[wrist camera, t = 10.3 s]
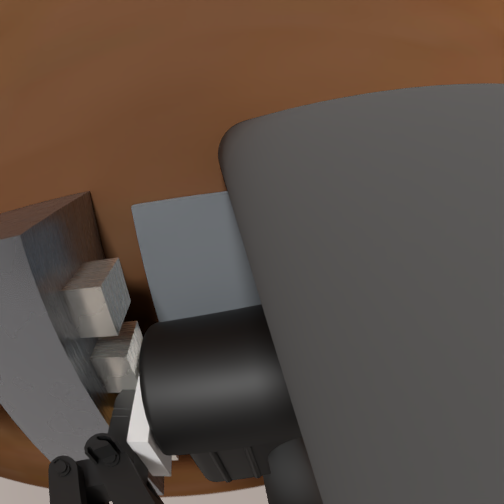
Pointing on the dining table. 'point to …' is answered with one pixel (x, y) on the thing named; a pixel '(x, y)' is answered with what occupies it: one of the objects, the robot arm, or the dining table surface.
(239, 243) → the mat
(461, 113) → the post
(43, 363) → the breaker panel
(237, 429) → the black rounded block
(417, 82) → the dining table surface
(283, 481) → the post
